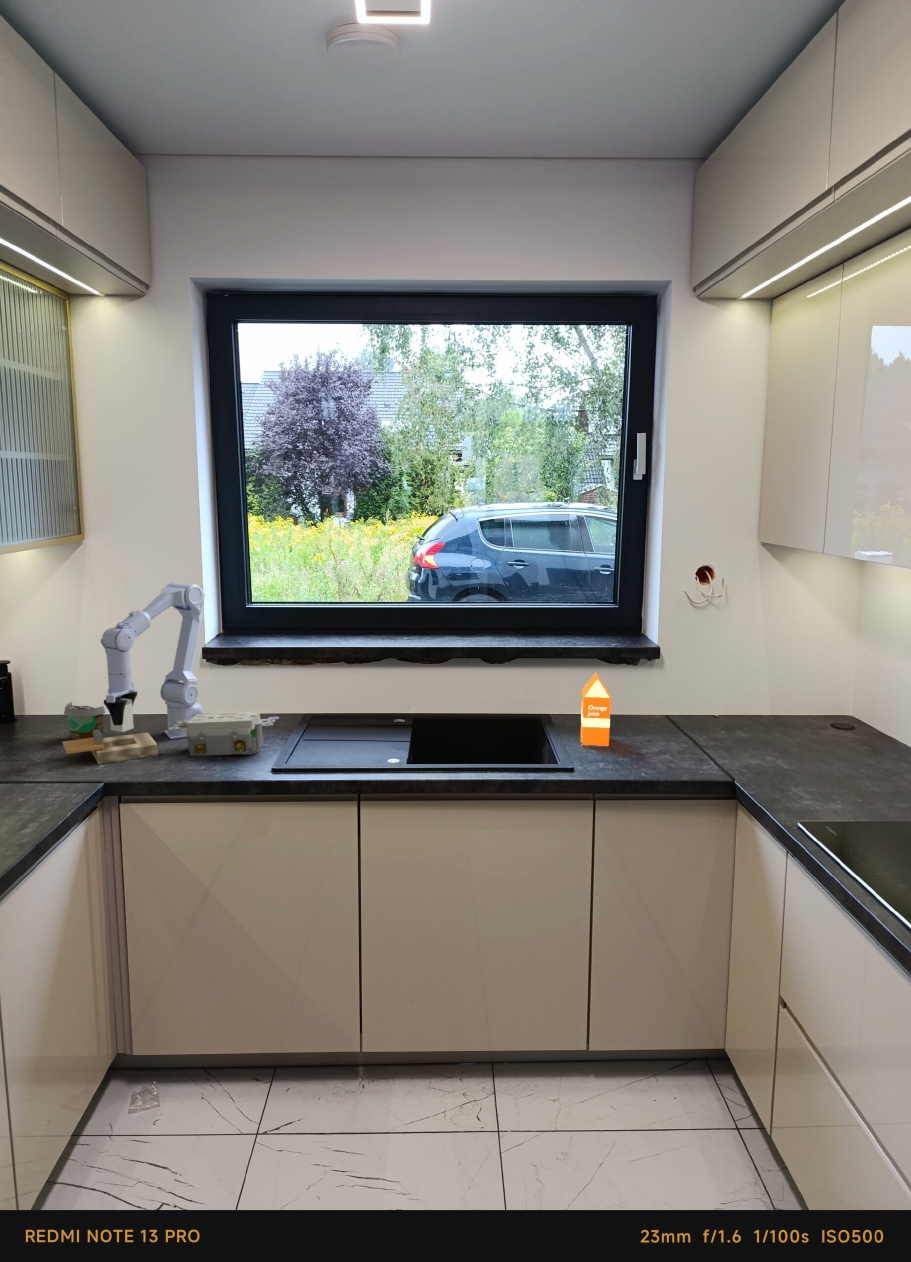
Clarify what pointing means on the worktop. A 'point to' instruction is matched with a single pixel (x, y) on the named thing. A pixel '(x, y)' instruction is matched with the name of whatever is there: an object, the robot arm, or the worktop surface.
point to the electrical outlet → (224, 733)
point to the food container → (84, 720)
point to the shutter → (85, 743)
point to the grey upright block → (125, 718)
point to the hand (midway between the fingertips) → (122, 721)
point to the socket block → (126, 748)
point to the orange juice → (595, 713)
